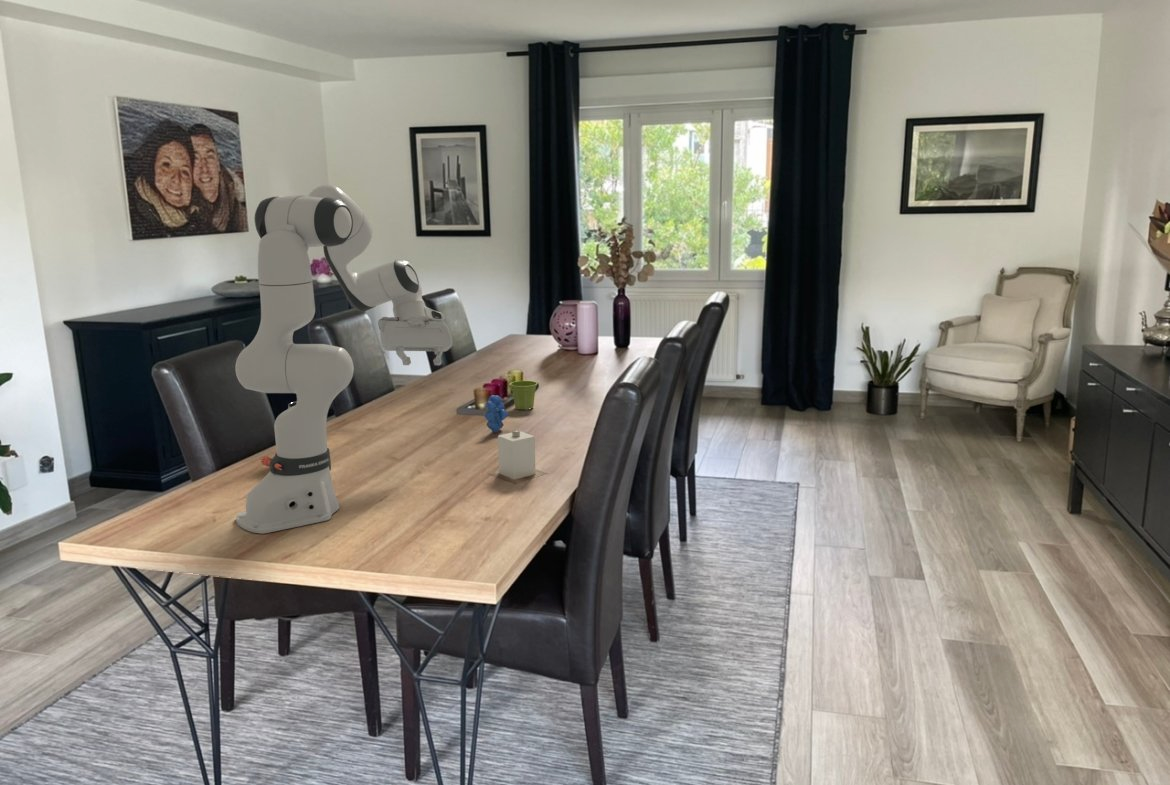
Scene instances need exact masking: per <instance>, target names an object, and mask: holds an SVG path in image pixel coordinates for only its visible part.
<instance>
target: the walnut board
mask: <svg viewBox="0 0 1170 785" xmlns="http://www.w3.org/2000/svg"><path fill="white" fill-rule="evenodd" d="M535 472H536V474H534V475H530V476H526V477H522V478H518V479H511V478H509V477H507V476H505V475H502V474H500V473H499V469H498V470H495V471H491V472H488V473H487V475H489V476H492V477H496V478H498V479H500V480H503V481H506V482H508V483H511V484H518V483H523V482H524V481H529V480H532V479H535V478H537V477H541V476H544V475H547V474H549V473H548V472H545V471H543V470H542V471H541V470H539V469H537V468H535Z"/></svg>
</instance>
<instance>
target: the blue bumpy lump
mask: <svg viewBox="0 0 1170 785" xmlns="http://www.w3.org/2000/svg"><path fill="white" fill-rule="evenodd" d="M487 401H488V402H486V404H485V405H484V407H485V409H486V410H487V411H486V412H485V413H484V418H485V419H486V421H487V422H486V426H487V428H488V429H489V430H490V431H492V433H498V432H499V431H500V430H501V429H503V427H504V423H503V420H505V419H507V418H508V416H509V413H508V412H507V410H505V408H506V406H505V405H504V404H503V399H502V398H501V397H500V396H499V395H492V394H491V395H490V396H489V397H488V399H487Z"/></svg>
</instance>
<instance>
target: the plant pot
mask: <svg viewBox="0 0 1170 785" xmlns="http://www.w3.org/2000/svg"><path fill="white" fill-rule="evenodd" d="M537 385H538V382H537V381H535V380H516V381H511V382H510V383H509V386H510V389H511V391H512V396H513V397H512V398H513V402H514V408H515V409H516V410H517V409H519V410H522V409H529V408H532V407H533V408H534V403H535V396H536V395H535V394H536V389H537ZM533 408H532V409H533Z"/></svg>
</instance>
